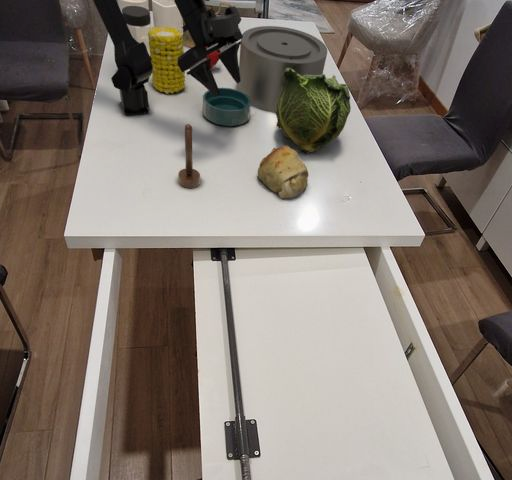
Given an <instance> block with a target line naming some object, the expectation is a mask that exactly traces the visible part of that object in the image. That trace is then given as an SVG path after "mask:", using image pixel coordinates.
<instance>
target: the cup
mask: <svg viewBox="0 0 512 480" xmlns="http://www.w3.org/2000/svg"><path fill="white" fill-rule="evenodd" d="M151 9H152V20H153V27H154V28H156V27H158V28H160V27H162V26H163V27H165V28H166V27H170V28H175V29H176V30H179V31H180V32H181V33H182V34H183V28H182V27H183V21H182V16H181V14H180V12H179V10H178V8H177V6H176V4H175V2H174V0H151Z"/></svg>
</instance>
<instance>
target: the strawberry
mask: <svg viewBox="0 0 512 480" xmlns="http://www.w3.org/2000/svg"><path fill="white" fill-rule="evenodd" d="M212 45H213V44H212ZM206 49H207V47H206ZM219 54H221V52H217V51H214V52H213V53H211V54H209V55H207V57H206V59H209V58H211V66H210V68H211V70H213V68H214V67H215V66H216V65H217V64H218V62H219V61H220V59H219V57H218V55H219Z"/></svg>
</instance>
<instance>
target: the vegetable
mask: <svg viewBox="0 0 512 480" xmlns="http://www.w3.org/2000/svg"><path fill="white" fill-rule="evenodd" d="M283 76H285V77H286V82H285V83H284V84H283V85H284V87H283V89H282V92H281V94H280V96H279V100H278V103H277V105H276V107H277V110H276V113H275V115H276V121H277V122H276V127H277V128H278V129H281V131H282V132H283V135H284V136H285V137H286V138H290V139H291V140H292V141H293V142H294V144H295V145H297V146H298V148H299V149H300V151H301V152H302V153H303V154H305V155H306V154H309V153H311V152H314V151H316V150H318V149H321V148H323V147H325V146H327V145H328V144H330V143H331V142H333V141H334V140H335V139H337V138H338V137H339V136H340V135H341V133H342V131H343V130H344V128H345V126H346V123H347V121H348V117H349V115H350V113H351V109H352V107H351V101H350V100H351V94H350V89H349V86H348V84H347V83H339V81H338V80H337V78H336V75H332V77H328V78H327V76H326V74H324V73H323V74H321V75H307V74H305V75H303V76H301V75H299V74H297V72H295V71H294V70H293V69H291V68H287V69H285V71H284V74H283ZM306 77H307V78H306ZM312 77H314V78H312Z"/></svg>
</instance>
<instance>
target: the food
mask: <svg viewBox="0 0 512 480" xmlns="http://www.w3.org/2000/svg"><path fill="white" fill-rule="evenodd" d="M148 35H149V46H150V47H149V49H150V57H151V58H152V60H151V63H152V66H153V70H152V74H151V76H152V85H153V88H155V89H156V90H157V91H159V92H160V93H164V94H166V95H169V94H174V93H175V92H176V93H179V91H181V90H184V89H185V86H186V83H185V82H186V77H185V75H186V73H185V72H186V71H184V72H183V73H182V72H181V70H180V68H179V66H178V64H177V63H178V57H179V56H181V55H182V54H183V53H185V52H184V49H185V48H184V45H183V37H182V36H183V32H182V33H181V32H180V31H179V30H176V29H175V28H170V27H166V28H165V27H163V26H162V27H160V28H158V27H156V28H154V26H151V29H149V32H148Z"/></svg>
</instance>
